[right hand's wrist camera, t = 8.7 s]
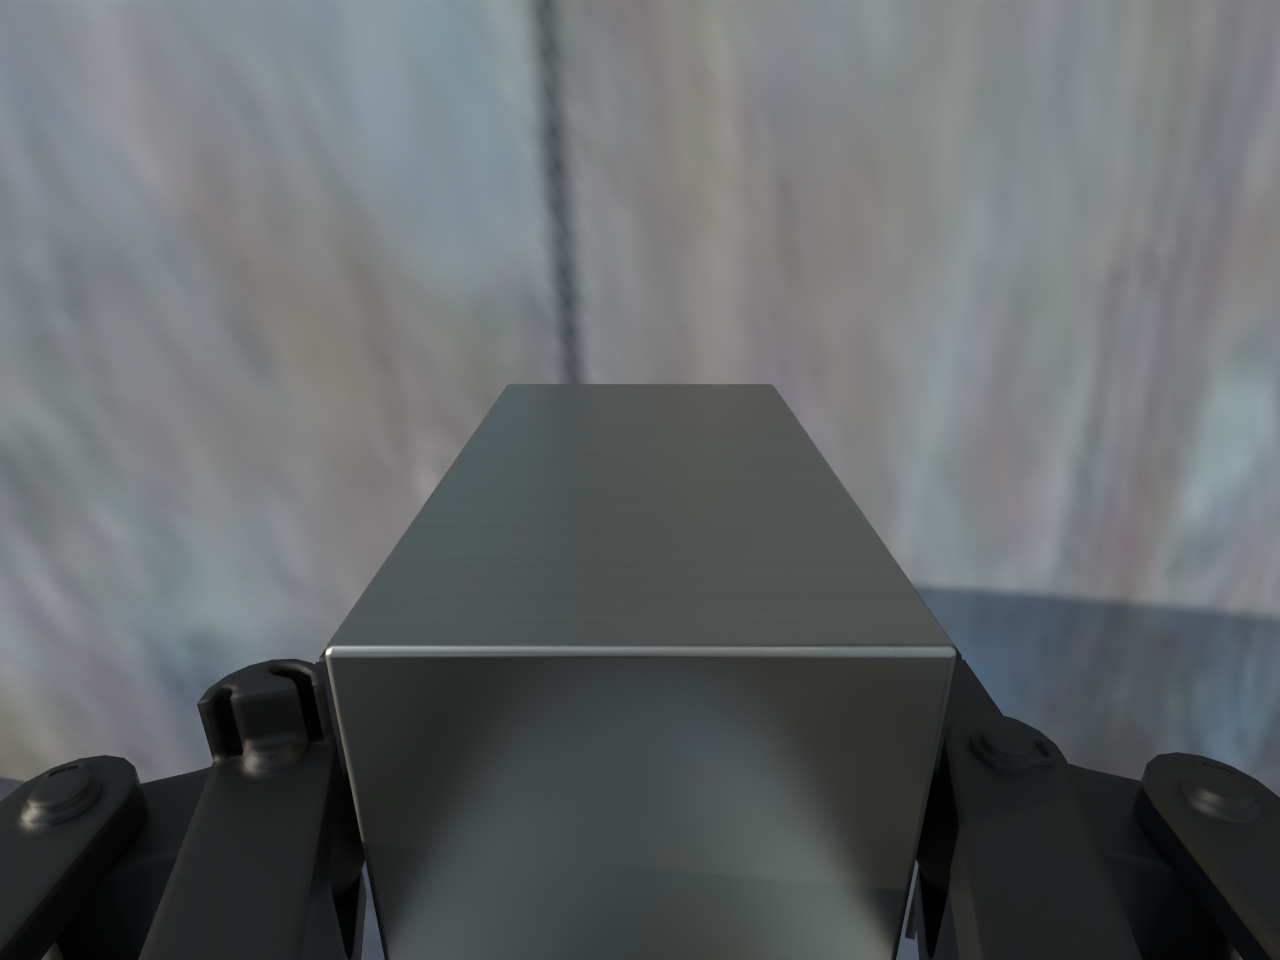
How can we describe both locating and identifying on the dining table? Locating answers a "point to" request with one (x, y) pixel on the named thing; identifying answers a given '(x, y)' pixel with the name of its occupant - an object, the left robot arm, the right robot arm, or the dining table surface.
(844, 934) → the bar
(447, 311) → the dining table surface
